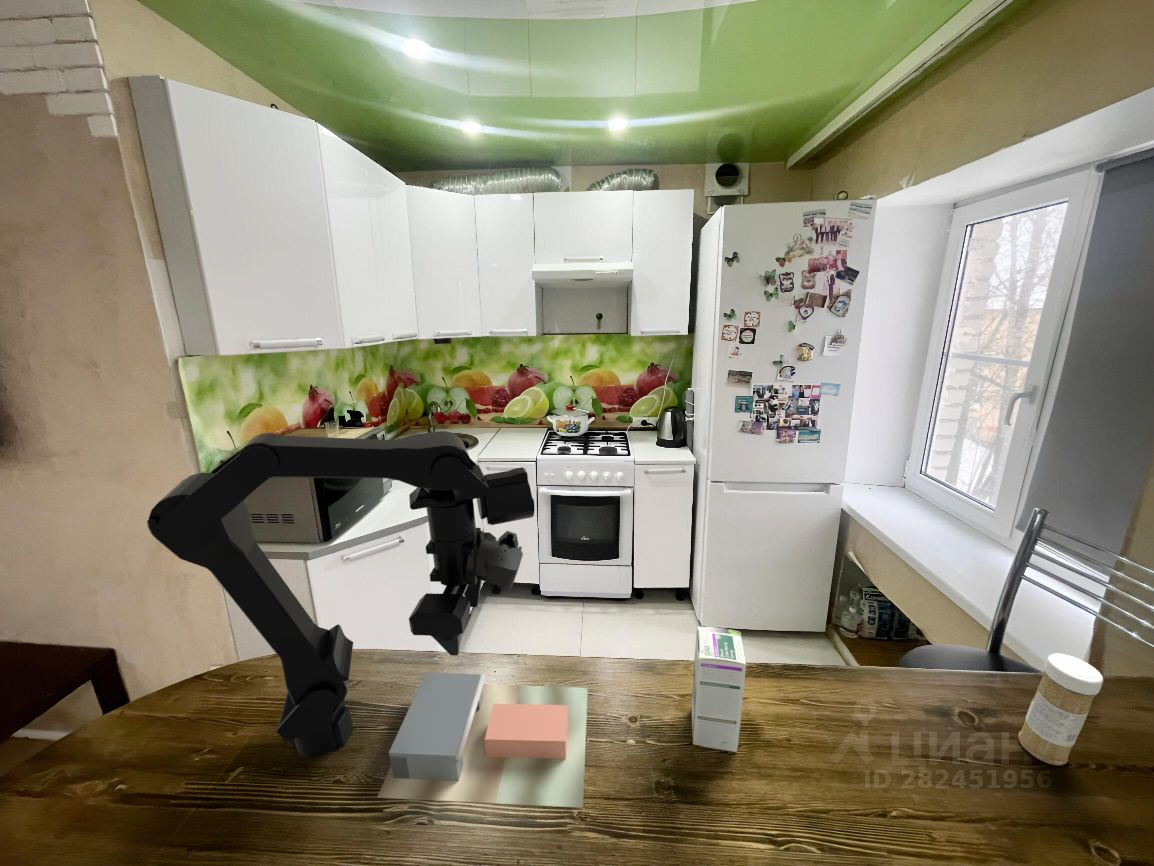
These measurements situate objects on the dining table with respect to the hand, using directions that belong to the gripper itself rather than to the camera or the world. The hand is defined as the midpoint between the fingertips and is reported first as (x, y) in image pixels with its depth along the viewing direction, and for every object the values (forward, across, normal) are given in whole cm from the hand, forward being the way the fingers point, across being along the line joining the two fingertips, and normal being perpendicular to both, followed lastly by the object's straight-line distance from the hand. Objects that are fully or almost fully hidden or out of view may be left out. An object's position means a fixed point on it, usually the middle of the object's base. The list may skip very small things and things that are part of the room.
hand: (465, 628), depth 63 cm
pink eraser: (+11, -7, -10) cm, 16 cm away
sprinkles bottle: (+12, -5, -75) cm, 76 cm away
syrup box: (+12, -4, -34) cm, 36 cm away
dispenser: (+11, -7, +2) cm, 13 cm away
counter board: (+12, -7, -5) cm, 15 cm away
